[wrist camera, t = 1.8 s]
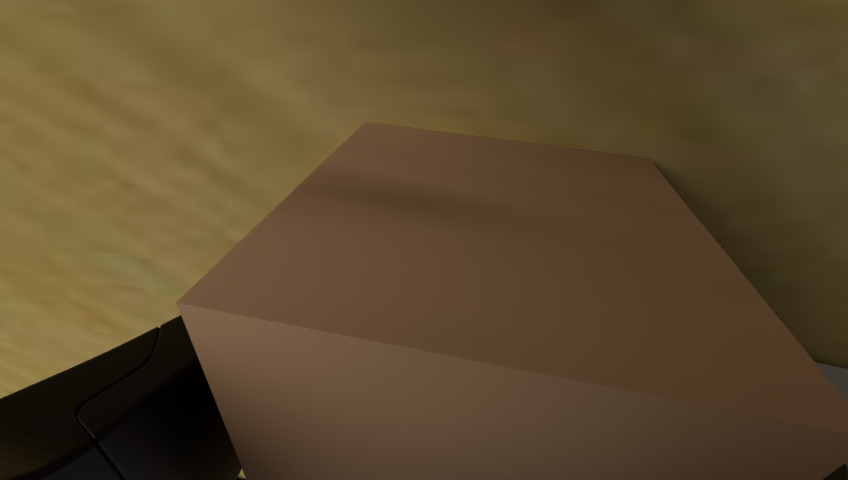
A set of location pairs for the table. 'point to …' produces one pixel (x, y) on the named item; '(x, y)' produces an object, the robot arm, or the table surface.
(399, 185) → the walnut cube
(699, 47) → the table surface
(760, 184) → the table surface
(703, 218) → the table surface
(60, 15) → the table surface
